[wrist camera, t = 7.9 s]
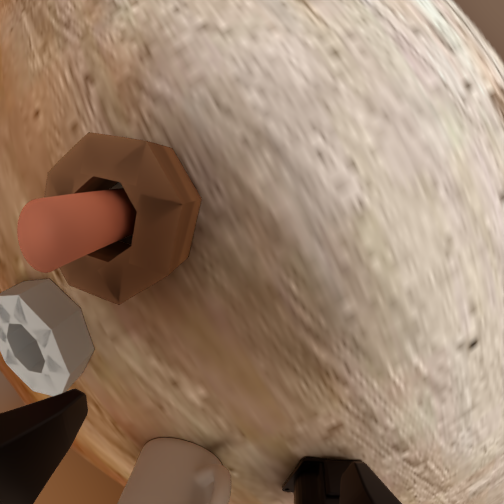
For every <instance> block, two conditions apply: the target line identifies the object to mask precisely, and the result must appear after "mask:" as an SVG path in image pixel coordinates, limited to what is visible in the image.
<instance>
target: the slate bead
mask: <svg viewBox="0 0 504 504" xmlns="http://www.w3.org/2000/svg"><path fill="white" fill-rule="evenodd" d="M0 351H1V354H2V356H3V358H4V360H5V362H6V364H7V365H8V366H9V367H10V368H11V369H12V370H13V371H14V372H15V373H16V374H17V375H18V376H19V377H20V378H21V379H22V381H23V382H24V383H26V384H27V385H28V386H29V387H30V388H31V389H32V390H33V391H35V392H39V393H43V394H47V395H51V396H55V395H58V394H61V393H64V392H66V391H67V390H68V388H69V387H70V386H71V385H72V384H73V383H74V382H75V381H76V380H77V378H78V377H79V376H80V375H81V374H82V373H83V371H84V369H85V367H86V365H87V363H88V361H89V359H90V357H91V355H92V353H93V351H94V346H93V344H92V341H91V338H90V335H89V333H88V330H87V327H86V324H85V321H84V318H83V314H82V311H81V308H80V307H79V306H78V305H77V304H75V303H74V302H73V301H72V300H71V299H70V298H69V297H68V296H67V295H66V294H65V293H64V292H63V291H62V290H61V289H60V288H59V287H58V286H57V285H56V284H54V283H53V282H52V281H51V280H50V279H41V280H32V281H23V282H21V283H19V284H17V285H15V286H13V287H11V288H9V289H7V290H5V291H3V292H2V293H0Z"/></svg>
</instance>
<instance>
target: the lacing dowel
mask: <svg viewBox="0 0 504 504" xmlns="http://www.w3.org/2000/svg"><path fill="white" fill-rule="evenodd" d="M136 214H137V211H136V210H135V208H134V206H133V204H132V203H131V201H130V199H129V197H128V195H127V193H126V192H125V190H124V188H120V189H110V190H101V191H92V192H83V193H75V194H67V195H60V196H53V197H46V198H39V199H34V200H31V201H30V202H28V203H27V204H26V205H25V206H24V208H23V209H22V211H21V214H20V216H19V220H18V231H17V232H18V241H19V245H20V248H21V251H22V253H23V255H24V257H25V259H26V260H27V262H28V263H29V264H30V265H31V266H32V267H33V268H34V269H36V270H38V271H40V272H44V273H47V272H51V271H53V270H55V269H57V268H59V267H62V266H64V265H66V264H68V263H70V262H72V261H74V260H76V259H79V258H81V257H83V256H85V255H87V254H90V253H92V252H94V251H96V250H98V249H101V248H103V247H105V246H107V245H110V244H112V243H114V242H117V241H119V240H121V239H124V238H126V237H128V236H131V235H133V232H134V226H135V220H136Z"/></svg>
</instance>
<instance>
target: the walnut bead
mask: <svg viewBox="0 0 504 504" xmlns="http://www.w3.org/2000/svg"><path fill="white" fill-rule="evenodd" d="M117 182H121V184H122V186H123V188H124V190H125V192H126V193H127V195H128V197H129V199H130V201H131V203H132V204H133V206H134V208H135V210H136V211H137V214H136V220H135V226H134V232H133V238H132V245H131V244H128V243H124V242H121V241H117V242H114V243H112V244H110V245H107V246H105V247H103V248H101V249H98V250H96V251H94V252H92V253H90V254H87V255H85V256H83V257H81V258H79V259H76V260H74V261H72V262H70V263H68V264H66V265H64V266H62V267H59V268H60V270H61V272H62V274H63V276H64V277H65V279H66V281H67V283H68V284H69V285H70V286H73V287H75V288H78V289H80V290H82V291H85V292H87V293H90V294H92V295H95V296H97V297H100V298H103V299H105V300H108V301H110V302H113V303H116V304H118V305H119V304H121V303H123V302H124V301H126V300H128V299H129V298H131V297H133V296H134V295H136V294H138V293H140V292H141V291H143V290H145V289H146V288H148V287H150V286H151V285H153V284H155V283H156V282H158V281H160V280H161V279H163V278H165V277H167V276H168V275H169V274H170V273H171V272H173V271H174V270H175V269H176V268H177V267H178V266H179V265H180V264H181V263H182V262H183V261H184V260H186V259H187V258H188V257H189V253H190V249H191V244H192V239H193V235H194V230H195V226H196V221H197V217H198V213H199V208H200V204H201V200H202V198H201V197H200V195H199V193H198V192H197V190H196V188H195V187H194V185H193V183H192V181H191V180H190V178H189V176H188V175H187V173H186V171H185V169H184V168H183V166H182V164H181V163H180V161H179V159H178V157H177V156H176V154H175V152H174V151H173V149H172V148H170V147H166V146H163V145H159V144H155V143H152V142H148V141H143V140H137V139H131V138H125V137H118V136H111V135H104V134H97V133H90V132H89V133H88V134H87V135H85V136H84V137H83V138H82V139H81V140H80V141H79V142H78V143H77V144H76V145H75V146H74V147H73V148H72V149H71V150H70V151H68V152H67V153H66V154H65V155H64V156H63V157H62V158H61V159H60V160H59V161H58V162H57V164H56V165H55V166H54V167H53V168H52V169H51V170H50V171H49V172H48V175H47V182H46V189H45V196H44V198H46V197H53V196H60V195H67V194H75V193H83V192H92V191H101V190H109V189H110V188H111V187H112V186H114V185H115V184H116V183H117Z"/></svg>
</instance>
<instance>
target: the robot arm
mask: <svg viewBox="0 0 504 504" xmlns="http://www.w3.org/2000/svg"><path fill="white" fill-rule="evenodd" d="M87 412H88V407H87V399H86V395H85V393H83V392H81V391H79V390H77V389H72V390H69V391H66V392H64V393H61V394H58V395H55V396H52V397H49V398H47V399H44V400H41V401H38V402H35V403H32V404H29V405H26V406H23V407H20V408H16V409H14V410H10V411H7V412H4V413H0V504H33V503H34V502H35V500H36V498H37V497H38V495H39V494H40V492H41V491H42V489H43V488H44V486H45V485H46V483H47V482H48V480H49V478H50V477H51V475H52V474H53V472H54V471H55V469H56V468H57V466H58V465H59V463H60V462H61V460H62V459H63V457H64V456H65V455H66V453H67V451H68V450H69V448H70V447H71V445H72V443H73V441H74V439H75V437H76V435H77V433H78V431H79V429H80V427H81V425H82V423H83V421H84V419H85V418H86V416H87ZM282 490H283V491H286V492H294V504H402V503H401V502H400V501H399V500H398V499H397V498H396V497H395V496H394V494H393V493H392V492H391V491H390V490H389V489H388V488H387V487H386V486H385V485H384V483H383V482H382V481H381V480H380V479H379V478H378V477H377V476H376V474H375V473H374V472H373V471H372V470H371V469H370V468H369V467H368V465H367V464H366V463H364V462H362V461H347V460H331V459H320V458H310V457H306V458H303V459H302V460H301V461H300V463H299V464H298V466H297V467H296V468H295V470H294V471H293V473H292V474H291V475H290V477H289V478H288V480H287V481H286V482H285V484H284V485H283V486H282Z"/></svg>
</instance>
